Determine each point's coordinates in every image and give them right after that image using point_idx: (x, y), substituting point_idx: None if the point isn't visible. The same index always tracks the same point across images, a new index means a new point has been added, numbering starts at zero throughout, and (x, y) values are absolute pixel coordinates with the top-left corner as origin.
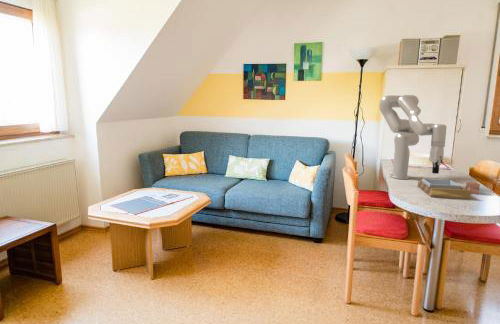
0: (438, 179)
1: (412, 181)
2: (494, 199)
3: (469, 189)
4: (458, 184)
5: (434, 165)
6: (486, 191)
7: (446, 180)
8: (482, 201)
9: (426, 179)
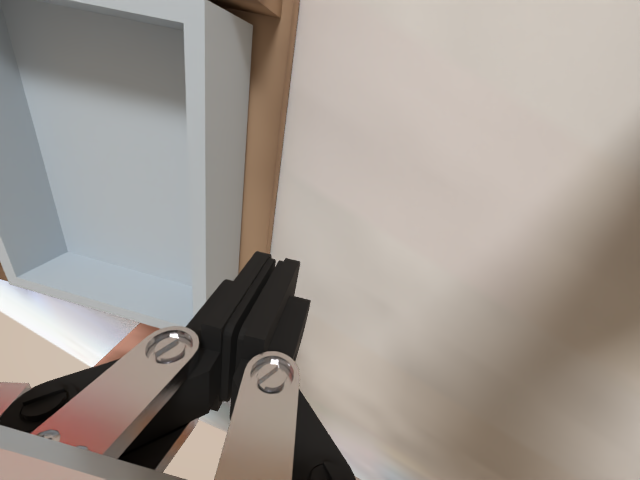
0: (200, 236)
1: (572, 74)
2: (80, 358)
3: (124, 340)
4: (48, 292)
5: (146, 366)
6: (223, 424)
7: (194, 299)
8: None
9: (188, 70)
